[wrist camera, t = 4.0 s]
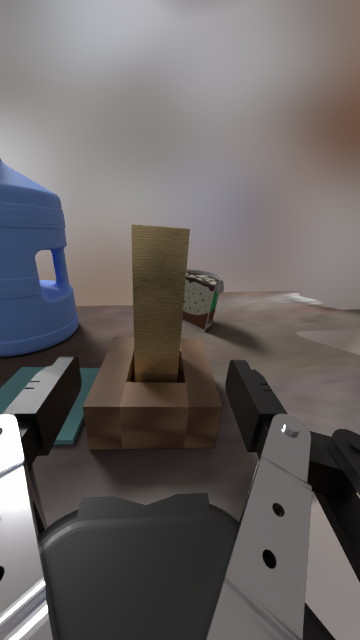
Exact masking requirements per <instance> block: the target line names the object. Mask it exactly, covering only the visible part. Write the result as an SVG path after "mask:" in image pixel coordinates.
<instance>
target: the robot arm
mask: <svg viewBox="0 0 360 640" xmlns="http://www.w3.org/2000/svg"><path fill="white" fill-rule="evenodd" d="M81 385H82V380H81V373H80V367H79V361H78V358H77V357H75V356H60V357H59V358H58V359H57V360H56V362H55V363H54V364H53V365H52V366H47V367H46V368H44V369H43V370H41V371H39V372H38V373H37V374H36V375H35V376H34V377H33V379H32V380H31V382H29V383H28V384H27V386H26V387H25V389H23V390H22V391H21V393H20V394H19V395H18V396H17V397H16V398H15V400H14V401H13V402H12V403H11V404H10V405H9V406H8V408H7V409H6V410H5V411H4V412H3V413H2V415H0V640H335V639H334V637H333V636H332V635H331V634H330V632H329V631H328V630H327V629H326V627H325V626H324V625H323V624H322V622H321V621H320V620H319V619H318V618H317V616H316V615H315V614H314V613H313V611H312V610H311V609H310V608H309V607H308V605H307V604H306V603H305V591H306V590H305V589H306V573H307V559H308V544H309V529H310V514H311V498H312V491H313V492H314V493H315V495H316V497H317V499H318V501H319V503H320V505H321V507H322V509H323V511H324V513H325V515H326V517H327V519H328V521H329V523H330V524H331V527H332V528H333V531H334V532H335V534H336V536H337V538H338V540H339V542H340V544H341V546H342V548H343V550H344V552H345V554H346V556H347V558H348V560H349V562H350V564H351V566H352V568H353V570H354V572H355V574H356V576H357V578H358V580H359V582H360V498H359V497H358V495H357V494H356V493H357V492H358V494H359V495H360V435H358V434H356V433H354V432H352V431H349V430H345V429H338V430H336V431H335V432H334V433H333V435H332V437H330V436H326V435H322V434H319V433H315V432H312V431H309V429H308V428H307V427H306V425H305V424H304V423H303V422H301V421H300V420H299V419H297V418H295V417H293V416H291V415H288V414H287V412H286V411H285V409H284V408H283V406H282V405H281V403H280V402H279V400H278V398H277V397H276V395H275V394H274V392H273V391H272V389H271V388H270V386H269V385H268V383H267V381H266V380H265V378H264V377H263V376H262V375H261V374H260V373H259V372H257V371H256V370H251V368H250V367H249V365H248V363H247V362H246V361H245V360H231V361H230V364H229V369H228V374H227V379H226V394H227V397H228V399H229V402H230V405H231V408H232V410H233V413H234V416H235V419H236V421H237V424H238V427H239V430H240V432H241V435H242V438H243V441H244V443H245V446H246V449H247V452H257V454H258V457H259V459H258V462H257V465H256V469H255V472H254V475H253V478H252V481H251V484H250V488H249V491H248V494H247V497H246V500H245V503H244V506H243V509H242V512H241V515H240V518H239V521H237V520H236V519H235V518H234V517H232V516H231V515H230V514H229V513H227V512H226V511H224V510H222V509H221V508H218V507H216V506H214V505H211V504H209V501H208V494H207V493H196V494H177V495H174V496H171V497H168V498H166V499H163V500H160V501H157V502H154V503H152V504H149V505H142V504H138V503H135V502H131V501H128V500H124V499H121V498H117V497H89V498H82V500H81V503H80V507H79V510H76V511H74V512H72V513H69V514H67V515H65V516H64V517H62V518H60V519H59V520H57V521H56V522H54V523H53V524H52V525H50V526H49V527H47V524H46V520H45V517H44V513H43V509H42V505H41V501H40V496H39V492H38V487H37V483H36V478H35V474H34V469H33V466H32V463H33V462H34V460H35V458H36V456H44V455H48V454H49V452H50V450H51V448H52V446H53V444H54V442H55V440H56V438H57V436H58V434H59V432H60V431H61V429H62V427H63V425H64V423H65V421H66V419H67V417H68V415H69V413H70V411H71V409H72V407H73V405H74V403H75V401H76V399H77V397H78V395H79V393H80V390H81Z"/></svg>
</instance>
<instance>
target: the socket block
mask: <svg viewBox="0 0 360 640" xmlns="http://www.w3.org/2000/svg"><path fill="white" fill-rule="evenodd" d="M222 408H223V406H222V403H221V400H220V396H219V393H218V390H217V387H216V384H215V381H214V378H213V374H212V371H211V368H210V365H209V362H208V359H207V356H206V352H205V349H204V346H203V343H202V340H197V339H181V342H180V354H179V366H178V378H177V383H153V382H135V362H134V338H130V337H114V339H113V341H112V343H111V345H110V347H109V350H108V352H107V354H106V356H105V358H104V361H103V363H102V365H101V367H100V369H99V371H98V374H97V376H96V378H95V380H94V382H93V385H92V387H91V389H90V391H89V393H88V396H87V398H86V400H85V402H84V404H83V413H84V419H85V426H86V432H87V438H88V444H89V450H99V449H160V448H214V447H215V442H216V437H217V432H218V428H219V423H220V418H221V413H222Z"/></svg>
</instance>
